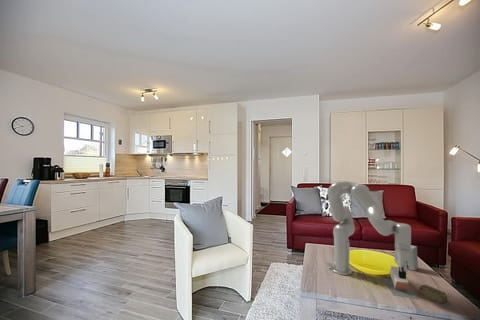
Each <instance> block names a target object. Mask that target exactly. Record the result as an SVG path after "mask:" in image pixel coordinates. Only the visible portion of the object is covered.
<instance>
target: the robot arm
mask: <svg viewBox="0 0 480 320" xmlns="http://www.w3.org/2000/svg"><path fill="white" fill-rule="evenodd" d="M344 194H345V195H346V194H347V195H351V196H353V198H354V199H355V201H356V202H357V204H359V206H361V208H362V209H363V211H364V213H365V215H366V217H367V219H368V221H369V223H370V224H371V225H372V227H373V228H374V230H376V232H378V234H380V235H382V236H385V237H386V236H390V235H392V234H394V263H395V264H396V265H397V267H399V278H401V279H406V278H407V272H408V270H410V269H409V268H410V254H409V251H410V250H411V245H412V227H411V225H410V224H408V223H403V222H396V221H393V220H391V219H389V220H387V219H386V220H385V219H384V218H383V217H382V215H381V214H380V212H379V209H378V202H376V200H375V199H374V198H373V197H372V195H370V188H369V187H368V186H367V185H365V184H363V183H356V182H353V181H337V182H333V183H332V184H331V185H329V187H328V188H327V197H328V198H327V199H328V201H329V207H330V212H331V218H332V219H333V221H335V222H337V223H338V224H336V225H334V227H333V231H332V235H333V245H334V246H333V247H334V248H333V251H334V252H333V262H326V266H328V267H329V268H330V267H331V270H332V272H334V273H335V274H338V275H341V276H348V275H351V274H352V269H351V268H350V251H351V250H350V248H351V246H350V240H349V237H350V236H352V235H353V234H354V233H355V231H356V228H355V222H354V218H353V213H352V211H351V209H350V208H348V207H347V206H344V203H343V199H342V197H341V195H344ZM407 268H408V269H407Z"/></svg>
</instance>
